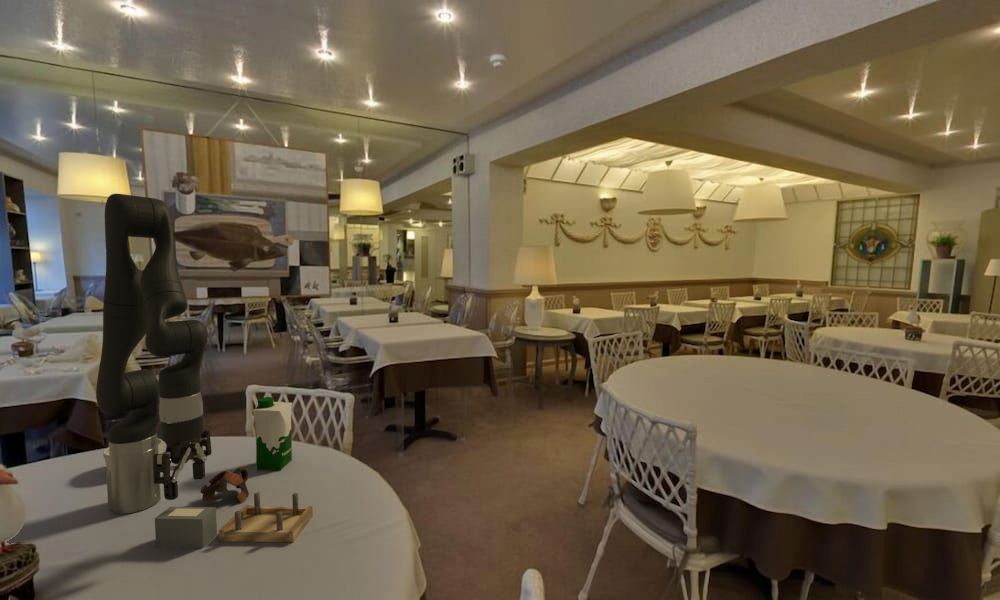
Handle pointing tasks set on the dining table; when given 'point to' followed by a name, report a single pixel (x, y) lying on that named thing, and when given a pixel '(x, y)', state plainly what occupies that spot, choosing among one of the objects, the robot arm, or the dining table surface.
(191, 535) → the block
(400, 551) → the dining table surface
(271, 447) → the milk carton
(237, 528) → the pin tray
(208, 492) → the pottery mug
